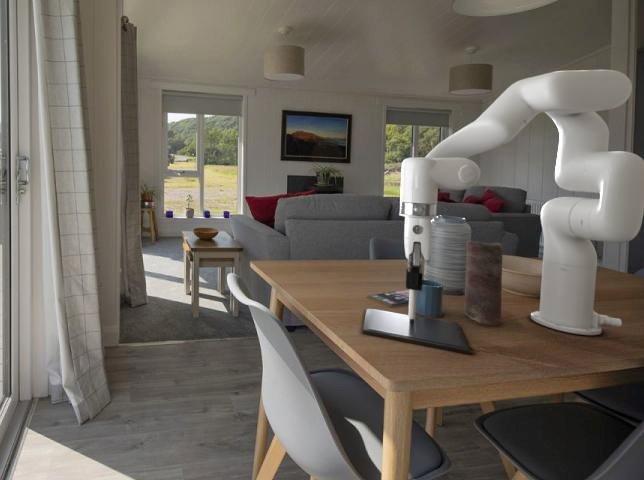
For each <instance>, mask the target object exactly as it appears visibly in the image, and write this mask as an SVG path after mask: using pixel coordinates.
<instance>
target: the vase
mask: <svg viewBox="0 0 644 480" xmlns="http://www.w3.org/2000/svg"><path fill="white" fill-rule="evenodd" d="M467 241H472V228H471V226H470V225H469V223H467V218H465V217H461V216H454V215H453V216H452V215H436V218H433V219H431V260H430V262H427V261H426V260H425V259H424V267H423V279H424V280H431V281H436V282H439V283H441V284H443V295H455V296H456V295H461V294H462V292H465V286H466V265H467Z"/></svg>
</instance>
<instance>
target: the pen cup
mask: <svg viewBox="0 0 644 480" xmlns="http://www.w3.org/2000/svg"><path fill="white" fill-rule="evenodd" d="M443 298H444V293H443V284H441V283H439V282H436V281H431V280H424V278H422V290H421V291H419V290H417V298H416V314H420V315H423V316H427V317H440V316H442V315H443V300H444V299H443Z"/></svg>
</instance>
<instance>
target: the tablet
mask: <svg viewBox="0 0 644 480" xmlns="http://www.w3.org/2000/svg"><path fill="white" fill-rule="evenodd" d="M409 319H410V318H408V314H404V313H398V312H394V311H393V312H392V311H388V310H387V311H386V310H381V309H374V308H369V307H367V308H366V311H365V317H364V324H363V331H362V333H363V334H365V335H368V336H374V337H379V338H384V339H390V340H395V341H399V342H404V343H408V344H415V345H420V346H425V347H430V348H435V349H439V350H445V351H446V350H447V351H451V352H455V353H460V354H465V355H471V352H472V351H471V348H470V347H469V344H468V342H467V340H466V337H465V335H464V334H463V331H462V329H461V327H460V324H459V323H457V322H451V321H445V320H439V319H433V318H428V317H422V316H417V315H416V316H415V319H414V324H411V323H409Z"/></svg>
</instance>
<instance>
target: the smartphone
mask: <svg viewBox="0 0 644 480" xmlns="http://www.w3.org/2000/svg"><path fill="white" fill-rule="evenodd" d="M409 292H410V289H402V290H401V289H399V290H395V291H389V292H381V293H376V294H369V295H368V297H370V298H372V299H375V300H377V301H379V302H382V303H384V304H387V305H388V306H398V305H408V304H409Z"/></svg>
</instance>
